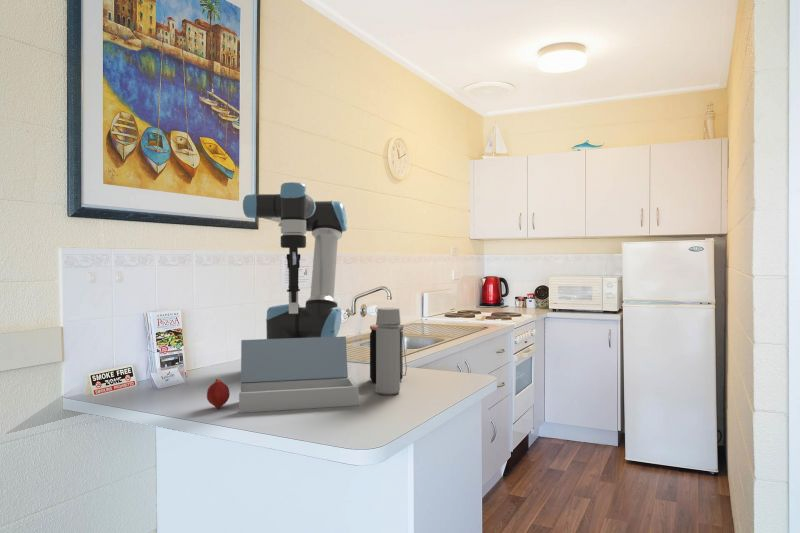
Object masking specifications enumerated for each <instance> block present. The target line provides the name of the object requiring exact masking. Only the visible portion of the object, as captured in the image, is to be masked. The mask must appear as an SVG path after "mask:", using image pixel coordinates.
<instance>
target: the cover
mask: <svg viewBox="0 0 800 533" xmlns="http://www.w3.org/2000/svg"><path fill="white" fill-rule="evenodd" d="M240 345H241V346H240V348H241V349H240V352H241V353H240V354H241V356H240V384H241V383H260V382H280V381H299V380H319V379H338V378H349V377H348V376H349V375H348V371H349V370H348V355H347V354H348V353H347V337H346V336H336V337H316V338H286V339H267V338H266V339H265V338H264V339H263V338H261V339H241V341H240Z"/></svg>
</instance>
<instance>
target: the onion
mask: <svg viewBox="0 0 800 533" xmlns="http://www.w3.org/2000/svg"><path fill="white" fill-rule="evenodd" d="M229 398H230V389H229V387H228V385H227V384H226V383H224V382H223V381H222V380H221V379H220V378H216V379H215V382H213V383H212V384H210V385H209V386H208V387H207V392H206V399H207V401H208V402H209V403H210V404H211V405H212V406H213V407H215V408H216V409H221V407H223V406H224V405H225V404H227V402H228V401H229Z"/></svg>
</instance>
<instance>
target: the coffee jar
mask: <svg viewBox="0 0 800 533" xmlns="http://www.w3.org/2000/svg"><path fill="white" fill-rule="evenodd" d="M376 327H378V326H377V325H376V324H370V326H369V328H370V331H371V332H370V333H369V378H370V380H371V381H372V383H374V384H376ZM401 335H402V330H401V327H400V363H401ZM403 339H404V334H403V335H402V363H401V371H400V382H401V381H402V379H403V378H404V376H402V374H403V375H404V371H403V370H404V369H403V368H404V366H403V364H404V363H403V362H404V361H403V360H404V358H403V354H404V353H403V352H404V345H403ZM401 373H402V374H401Z"/></svg>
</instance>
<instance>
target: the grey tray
mask: <svg viewBox="0 0 800 533" xmlns="http://www.w3.org/2000/svg"><path fill="white" fill-rule="evenodd" d="M359 388H360V386H359V385H358V384H357V383H356V381H355V380H354V378H353V377H348V378H338V379H319V380H299V381H280V382H260V383H241V382H240V391H239V393H238V400H239V401H238V409H239V410H238V413H239V414H242V413H243V414H244V413H256V412H257V413H258V412H260V413H261V412H271V411H272V412H274V411H290V410H305V409H306V410H307V409H308V410H309V409H321V408H335V407H351V406H354V407H355V406H359V405H360V402H359V401H360V398H359V397H360V396H359V395H360V394H359V393H360V392H359V391H360V389H359Z"/></svg>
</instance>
